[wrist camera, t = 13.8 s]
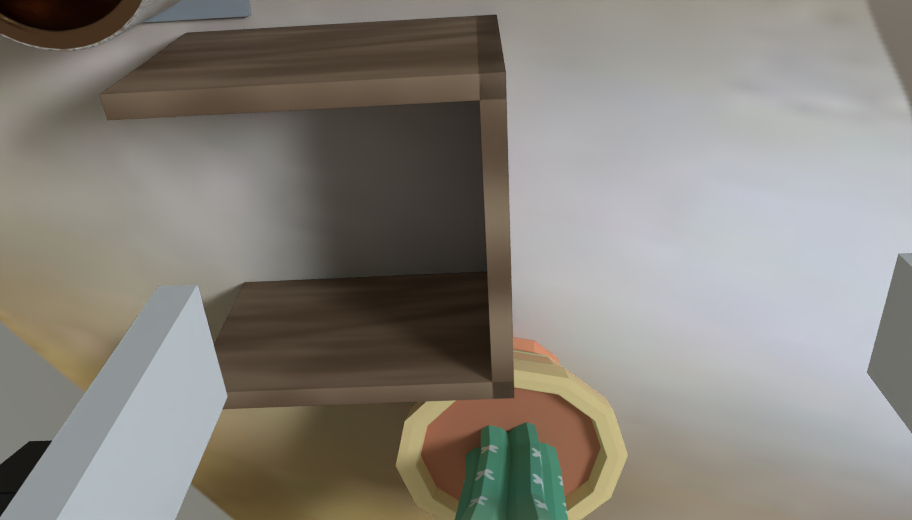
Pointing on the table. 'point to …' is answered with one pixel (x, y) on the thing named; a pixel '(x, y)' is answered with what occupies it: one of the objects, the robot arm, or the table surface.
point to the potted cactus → (515, 448)
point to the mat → (203, 10)
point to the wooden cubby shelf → (363, 298)
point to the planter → (73, 21)
